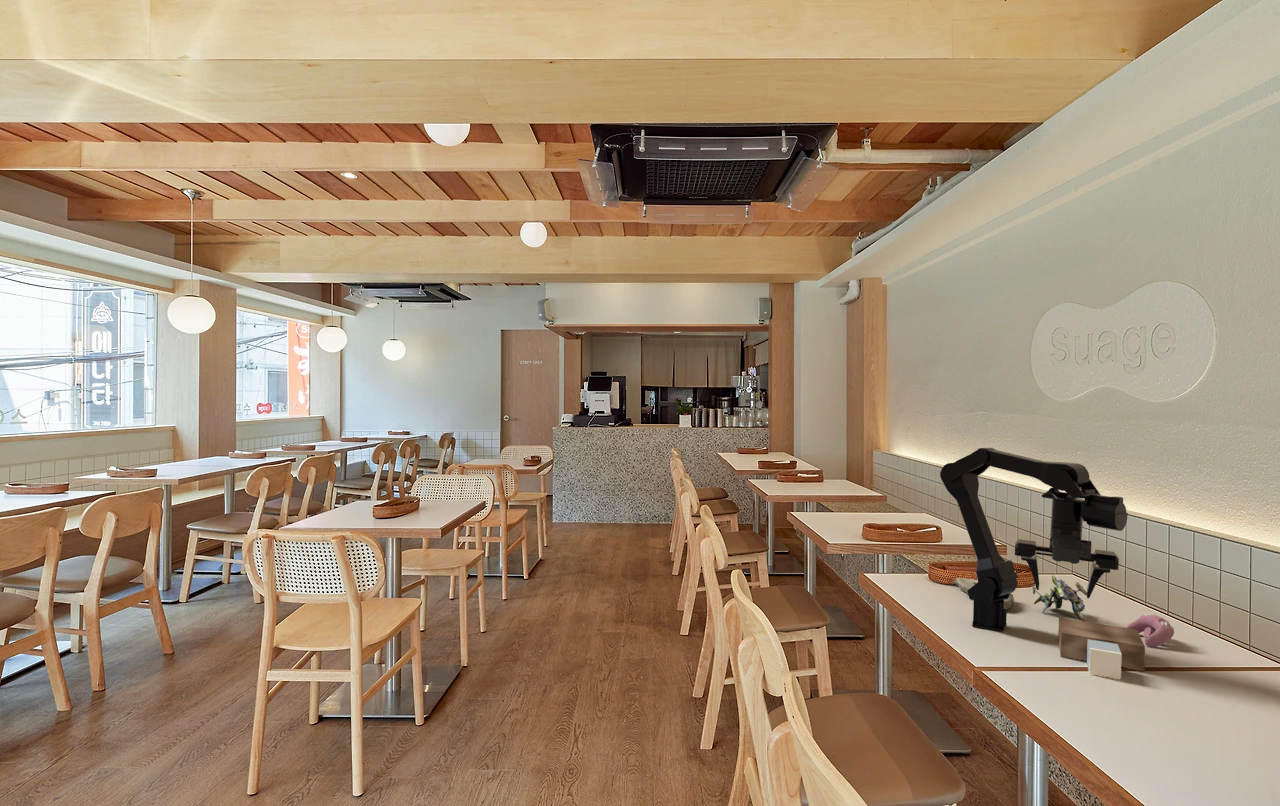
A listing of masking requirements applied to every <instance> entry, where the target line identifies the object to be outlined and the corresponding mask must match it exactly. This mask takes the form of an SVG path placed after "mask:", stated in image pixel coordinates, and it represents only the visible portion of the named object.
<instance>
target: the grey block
mask: <svg viewBox="0 0 1280 806" xmlns="http://www.w3.org/2000/svg"><path fill="white" fill-rule="evenodd" d="M1121 660H1122V654H1121V651H1120V649H1119V646H1118V644H1114V643H1108V642H1102V641H1096V640H1090V639H1088V642H1087V661H1086V666H1087V671H1088V674H1092V675H1091V676H1095V675H1099V676H1098V677H1100V676H1104V677H1103V678H1105V677H1111V678H1116V679H1121V680H1122V668H1121ZM1111 678H1110V679H1111ZM1116 679H1115V680H1116Z"/></svg>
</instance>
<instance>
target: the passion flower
mask: <svg viewBox="0 0 1280 806" xmlns="http://www.w3.org/2000/svg"><path fill="white" fill-rule="evenodd" d="M1051 581H1052V584H1053V585H1054V586H1053V589H1052V588H1050V589H1049V590H1050V594H1048V593H1047V592H1045V593H1044V594H1043V595H1042V594H1041V593H1040V592H1038V590H1037V589H1036V586H1032V593H1033V595H1036V593H1037V594H1038V595H1039V597H1038V598H1037V599H1036V600H1034V602H1033V605H1036V604H1038V603H1040V602H1042V603H1043V604H1044V606H1043V609H1042V613H1043V614H1044V613H1045V611H1046V610H1047V609H1049V608H1051V607H1052V605H1053V604H1054V605H1055V610H1058V609H1062V605H1063V601H1069V602H1070V604H1071V607H1072V612H1073V614H1074V616H1075V617H1076V618H1077V619H1079V620H1083V619H1084V617H1083V614H1082V612H1083V611H1085V607H1086V605H1085V604H1084V601H1083V599H1082V598H1081V597H1080V596H1079V595H1078V594H1077V593H1078V592H1080V593H1082V594H1083V595H1085V596H1086V597H1087V590H1085V589H1084V587H1083V586H1082V584H1080V583H1079V582H1076V581H1075V583H1074V584H1075V588H1076V590H1075V589H1073V588H1072V587H1071V585H1069V584H1068V583H1066V582H1065V580H1062V579H1061V578H1059V579H1057V578H1056V576H1055V575H1051ZM1042 613H1041V614H1042Z"/></svg>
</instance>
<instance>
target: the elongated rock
mask: <svg viewBox="0 0 1280 806" xmlns="http://www.w3.org/2000/svg"><path fill="white" fill-rule="evenodd" d="M952 583H954V584H955V586H956V587H958V588H959V590H960V591H962V592H964V593H965V594H966V595H967V596H968V597H969V595H968V592H967V591H968V589H970V588H971V587H972V586H974V585H975V584H976V583H978V580H974V579H966V578H959V577H958V578H956V580H955V581H953V580H952ZM1014 601H1015V598H1014V594H1013V593H1010V596H1009V598H1008V599H1007V600H1006V599H1005V600H1004V607H1006V608H1007V610H1010V609H1011V607H1013V606H1014V605H1015V602H1014Z"/></svg>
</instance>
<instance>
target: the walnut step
mask: <svg viewBox="0 0 1280 806" xmlns="http://www.w3.org/2000/svg"><path fill="white" fill-rule="evenodd" d="M1057 638H1058V640H1059V641H1058V647H1059V654H1060V658H1064V657H1066V658H1065V659H1070V658H1073V659H1072V660H1076V659H1078V660H1077V661H1081V660H1084V661H1083V662H1087V642H1088V639H1090V640H1096V641H1102V642H1108V643H1114V644H1118V646H1119V649H1120V651H1121V654H1122V660H1121V667H1123V668H1122V669H1126V668H1127V670H1132V671H1138V672H1144V673H1145V660H1146V657H1145V654H1146V644H1145V642H1144V641H1143V640H1142V638H1141V635H1140V633H1138V631H1137V629H1131V628H1126V627H1123V626H1116V625H1111V624H1105V623H1098V622H1090V621H1085V620H1078V619H1077V620H1076V619H1070V618H1066V617H1058V637H1057Z"/></svg>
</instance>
